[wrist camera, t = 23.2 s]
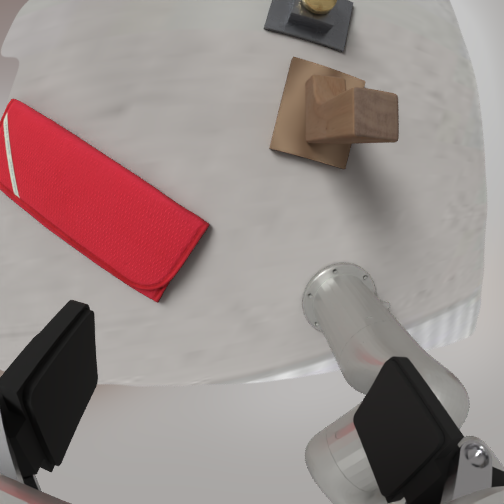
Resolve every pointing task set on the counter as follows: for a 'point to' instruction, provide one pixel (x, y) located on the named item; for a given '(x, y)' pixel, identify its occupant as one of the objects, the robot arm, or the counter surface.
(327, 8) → the button
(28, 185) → the dish drying mat
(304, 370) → the counter surface
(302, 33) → the plate
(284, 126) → the board
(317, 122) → the wooden block
